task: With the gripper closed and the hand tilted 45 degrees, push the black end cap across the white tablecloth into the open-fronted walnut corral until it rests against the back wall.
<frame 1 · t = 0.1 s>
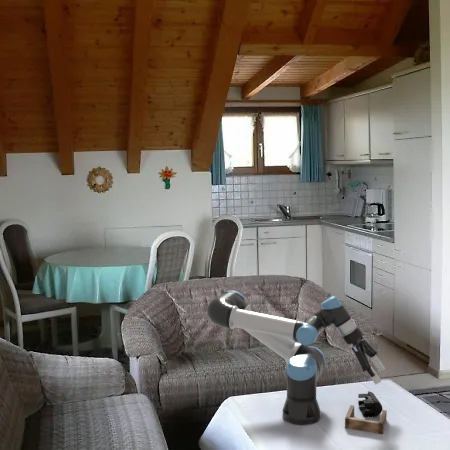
hand: (380, 376, 229), 15 cm above the table, tool tilted 35°, fingers open, 13 cm apart
corral: (365, 424, 222), on the table
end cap: (369, 412, 232), on the table
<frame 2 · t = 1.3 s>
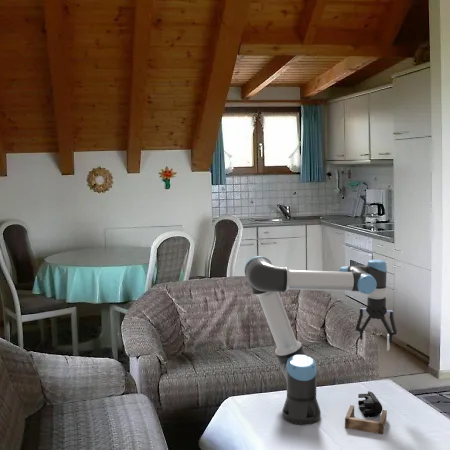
hand: (375, 348, 243), 22 cm above the table, tool pointing down, fingers open, 9 cm apart
nothing on the table moved.
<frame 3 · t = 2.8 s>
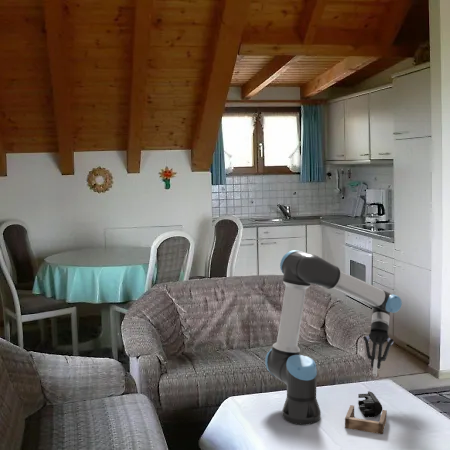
hand: (374, 375, 240), 12 cm above the table, tool tilted 45°, fingers closed
nothing on the table moved.
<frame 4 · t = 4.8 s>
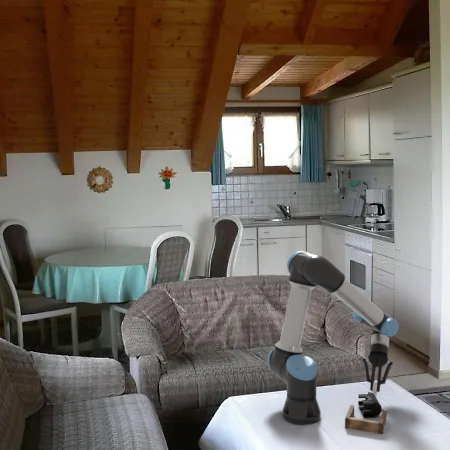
hand: (373, 398, 237), 3 cm above the table, tool tilted 45°, fingers closed
nothing on the table moved.
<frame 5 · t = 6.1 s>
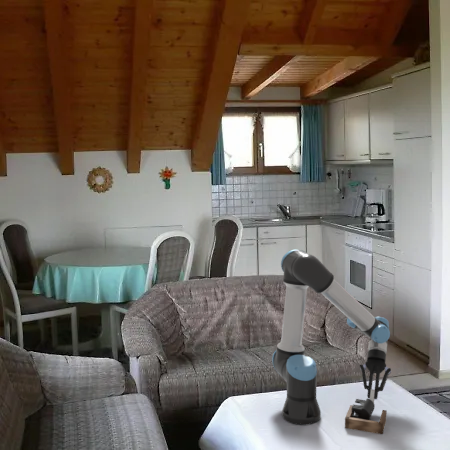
hand: (371, 406, 231), 3 cm above the table, tool tilted 45°, fingers closed
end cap: (362, 419, 226), on the table, touching gripper
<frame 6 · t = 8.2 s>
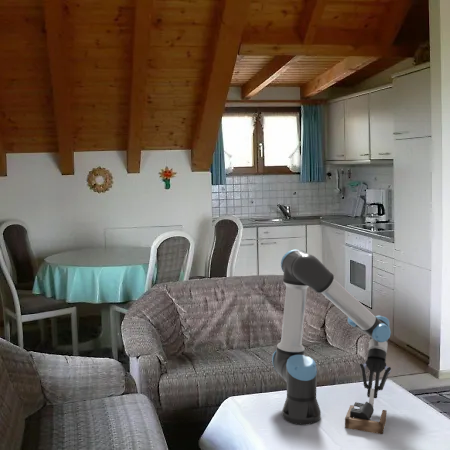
hand: (370, 405, 231), 3 cm above the table, tool tilted 45°, fingers closed
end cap: (361, 423, 224), on the table
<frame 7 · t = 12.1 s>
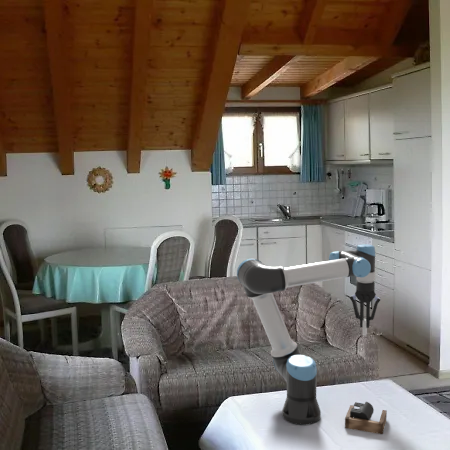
hand: (364, 334, 246), 26 cm above the table, tool pointing down, fingers closed
nothing on the table moved.
at the end: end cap inside the target area (2.6 cm from its centre), on the table; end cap moved 10.4 cm from its start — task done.
